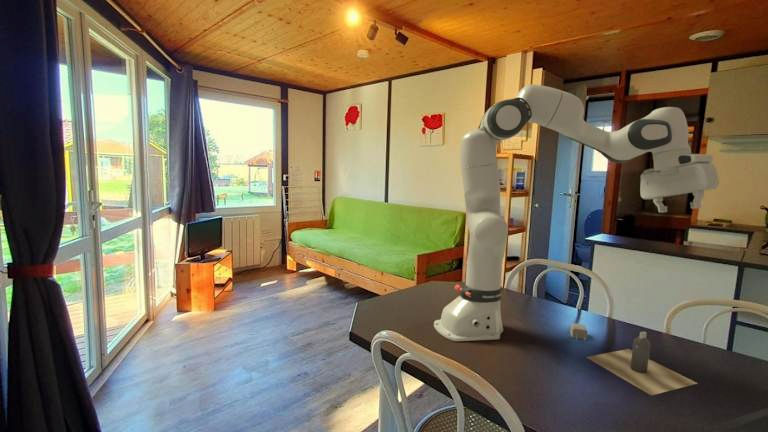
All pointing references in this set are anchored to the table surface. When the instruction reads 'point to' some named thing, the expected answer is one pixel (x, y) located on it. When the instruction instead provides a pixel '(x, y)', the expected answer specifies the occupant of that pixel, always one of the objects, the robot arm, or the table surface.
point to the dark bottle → (640, 353)
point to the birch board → (649, 382)
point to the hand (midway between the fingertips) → (678, 210)
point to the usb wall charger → (578, 331)
